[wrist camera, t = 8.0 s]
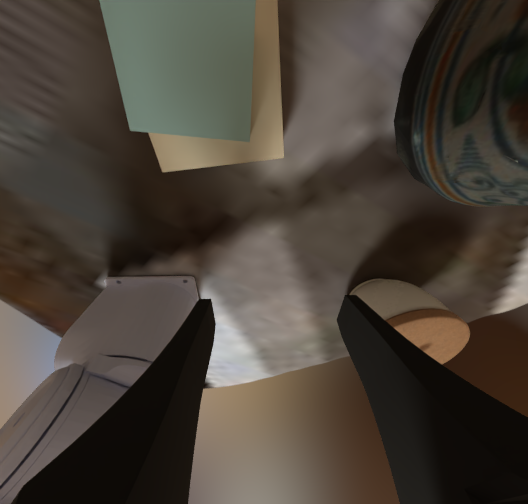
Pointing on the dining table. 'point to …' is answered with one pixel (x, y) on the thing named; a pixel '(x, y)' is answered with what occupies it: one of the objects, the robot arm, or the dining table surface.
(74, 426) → the robot arm
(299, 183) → the dining table surface
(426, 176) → the beer stein
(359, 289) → the lidded jar
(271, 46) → the birch base block
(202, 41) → the teal block
